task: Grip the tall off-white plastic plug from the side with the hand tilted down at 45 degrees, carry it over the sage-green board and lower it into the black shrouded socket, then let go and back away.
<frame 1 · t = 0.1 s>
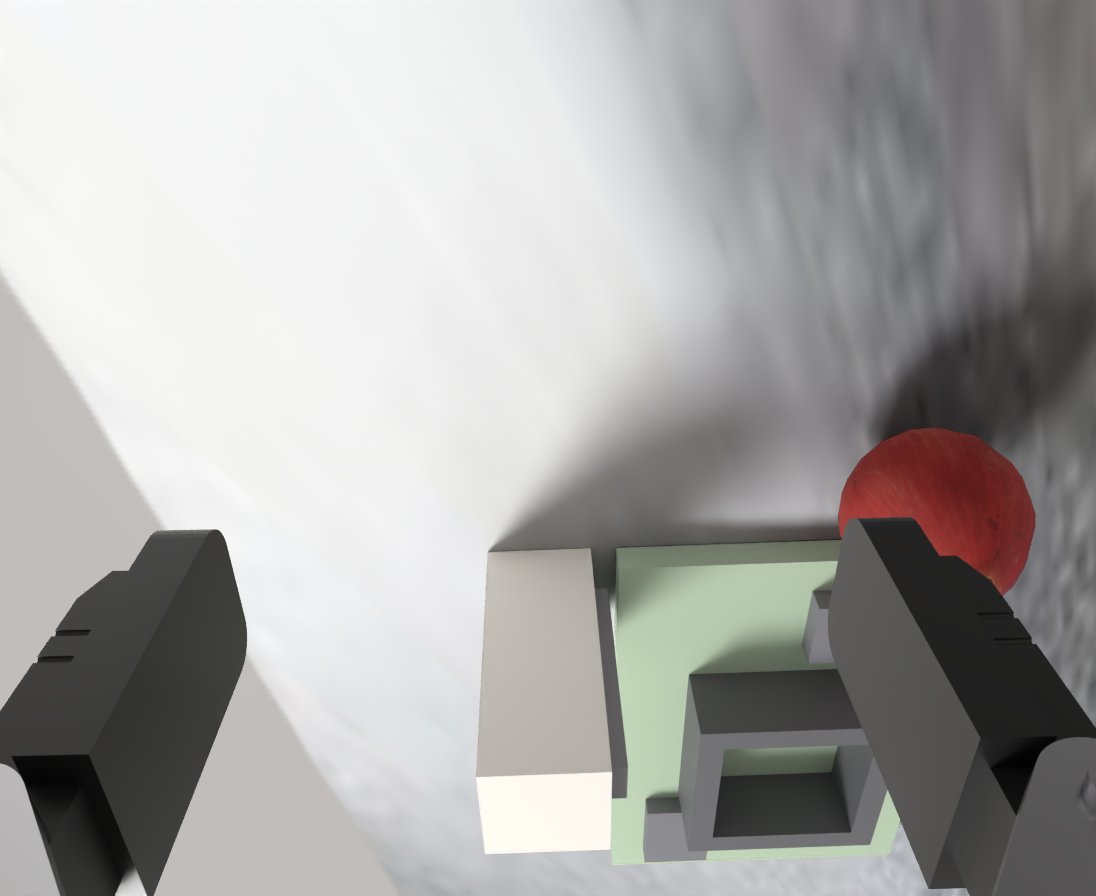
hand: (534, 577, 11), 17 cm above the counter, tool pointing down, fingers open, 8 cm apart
board: (767, 710, 40), on the counter
plug: (540, 588, 35), on the counter
onion: (891, 450, 32), on the counter
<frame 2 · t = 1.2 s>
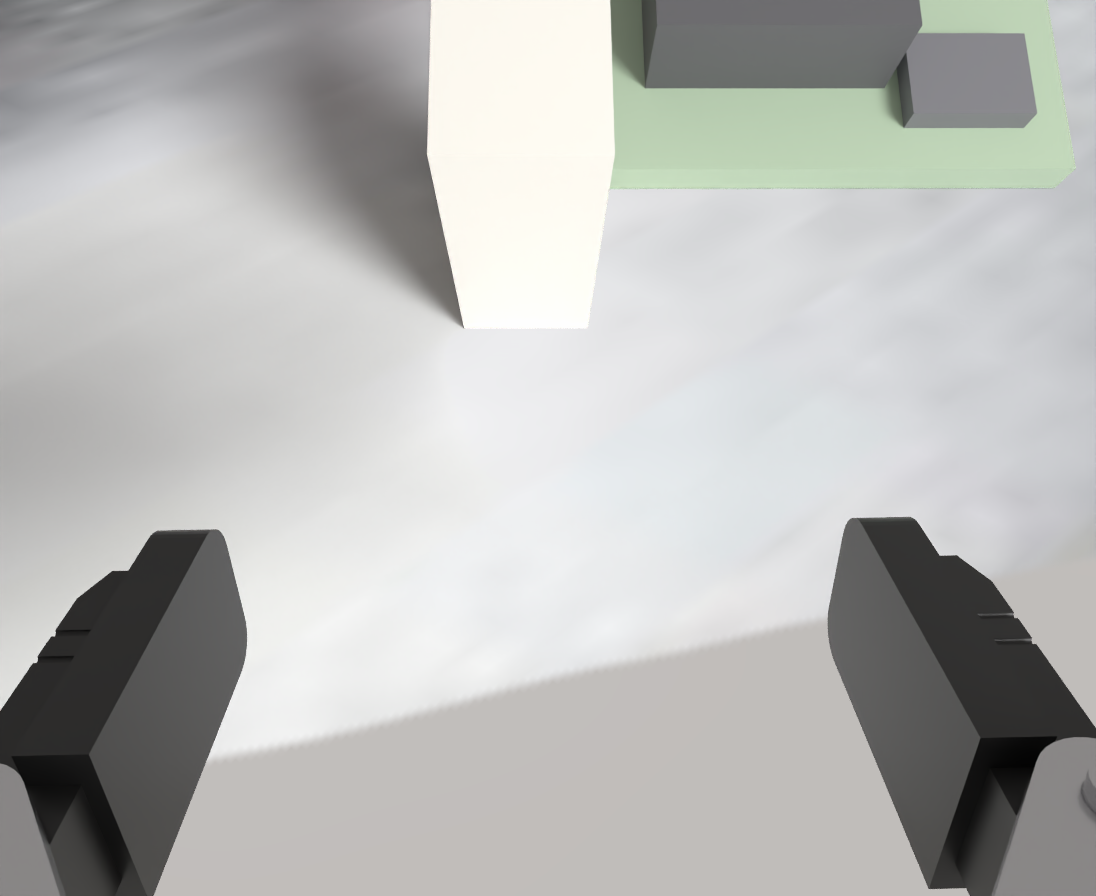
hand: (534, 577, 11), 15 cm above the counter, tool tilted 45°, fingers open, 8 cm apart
board: (748, 12, 31), on the counter
plug: (525, 271, 29), on the counter
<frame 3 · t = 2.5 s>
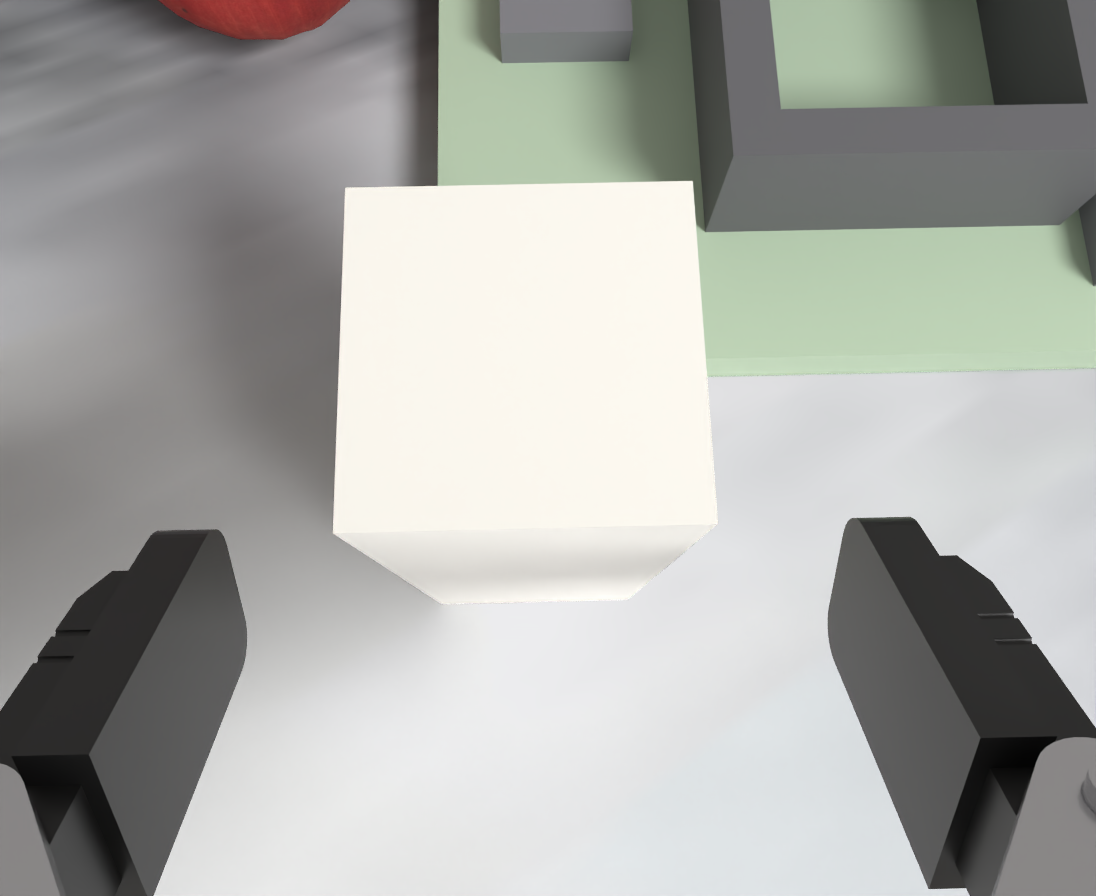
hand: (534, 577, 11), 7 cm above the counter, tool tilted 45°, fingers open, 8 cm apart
board: (845, 106, 22), on the counter
plug: (533, 510, 19), on the counter
onion: (290, 20, 23), on the counter
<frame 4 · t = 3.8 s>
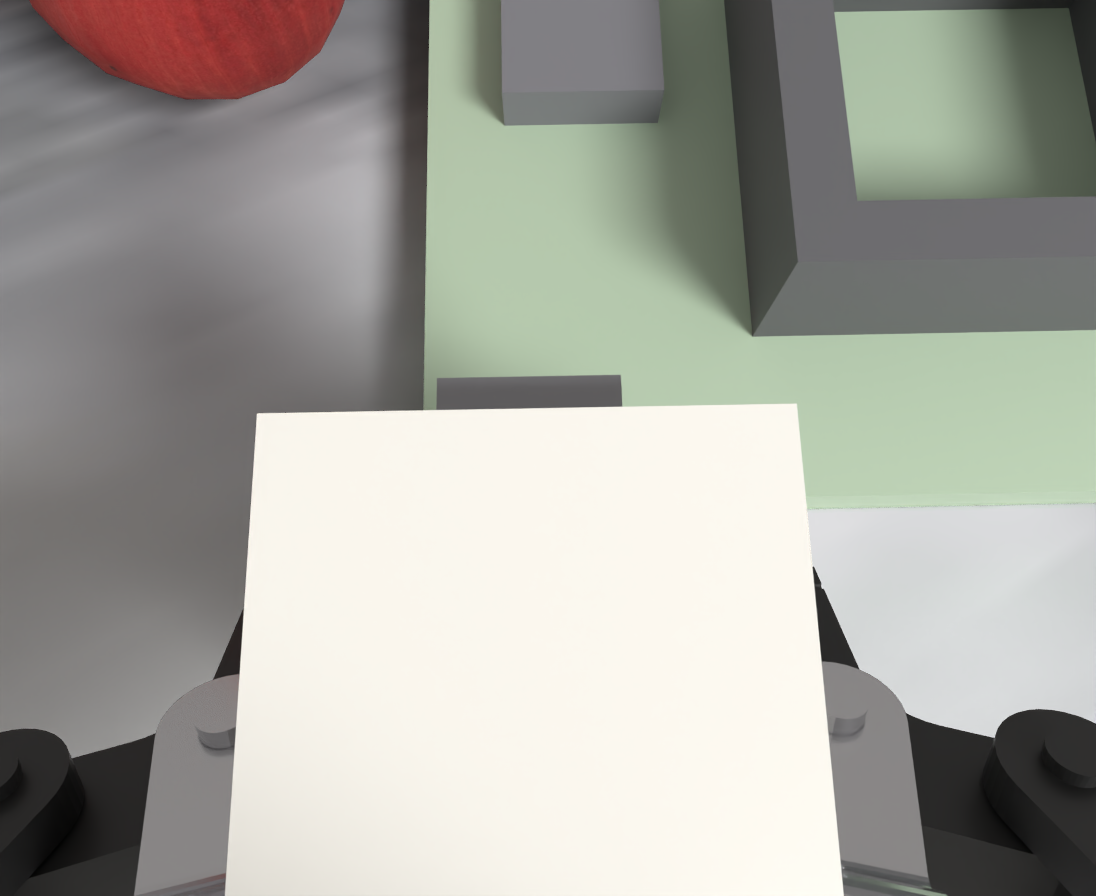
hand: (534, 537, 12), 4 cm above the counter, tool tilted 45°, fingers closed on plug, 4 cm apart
board: (916, 174, 18), on the counter
plug: (540, 680, 16), on the counter, touching gripper
onion: (254, 69, 19), on the counter
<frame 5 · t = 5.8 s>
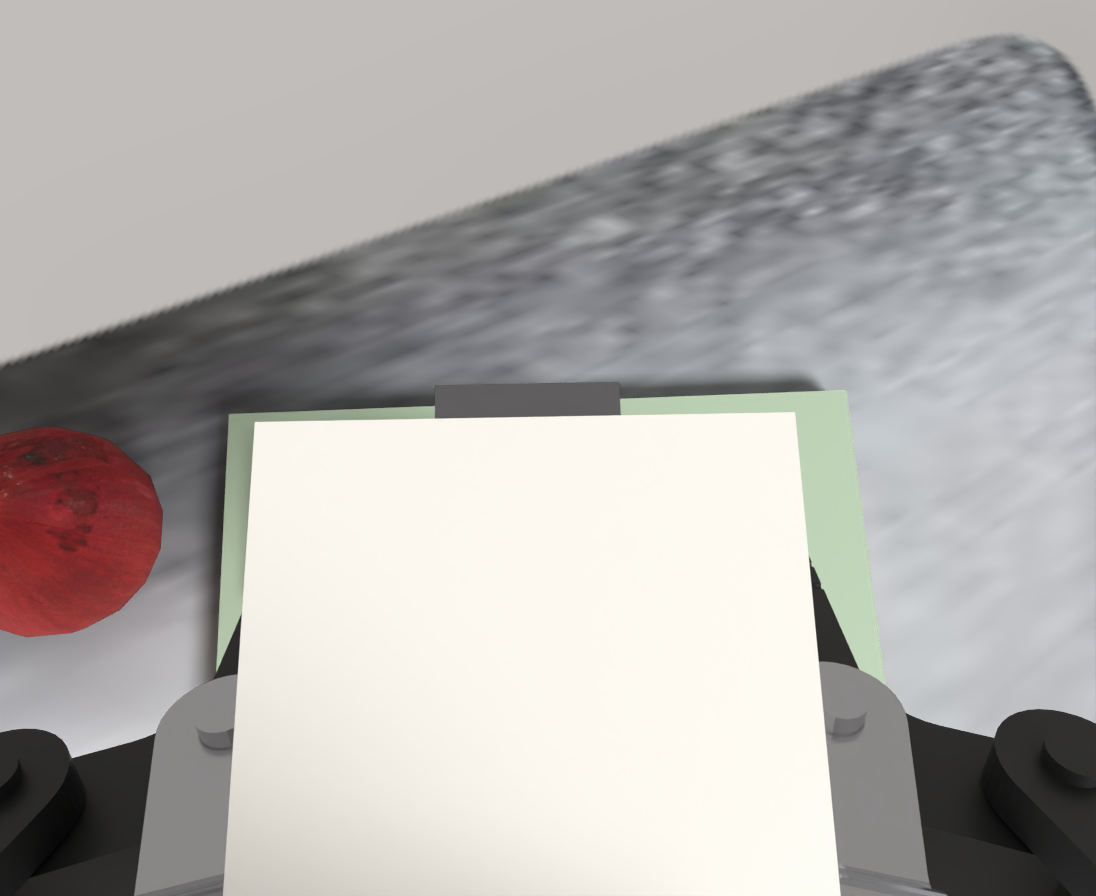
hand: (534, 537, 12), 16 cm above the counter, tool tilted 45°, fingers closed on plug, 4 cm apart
board: (548, 623, 28), on the counter
plug: (540, 683, 16), point 12 cm above the counter, touching gripper
onion: (114, 549, 28), on the counter
when the fingers open (7 cm above the counter, at t = 8.0 s): plug drops 2 cm, resting on board.
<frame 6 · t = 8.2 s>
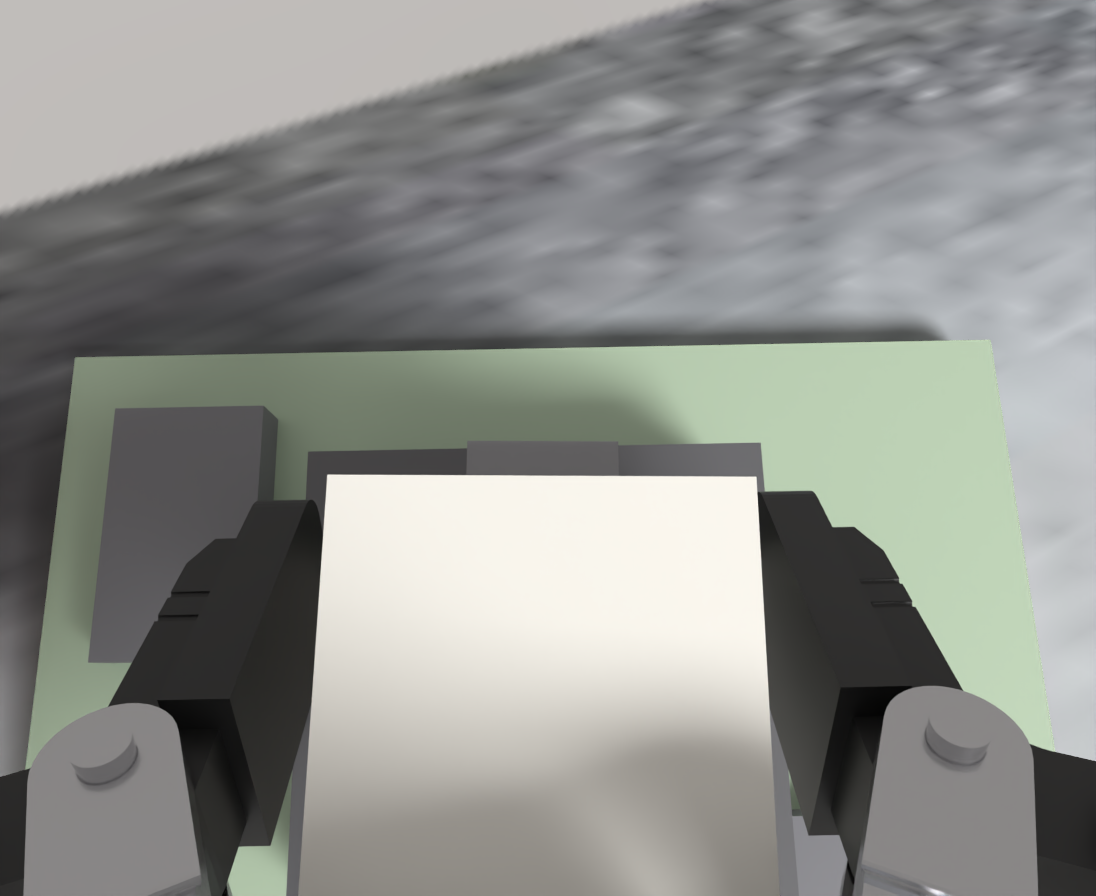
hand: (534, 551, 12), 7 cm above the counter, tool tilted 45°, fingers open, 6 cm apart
board: (540, 679, 19), on the counter
plug: (544, 684, 17), point 1 cm above the counter, touching board
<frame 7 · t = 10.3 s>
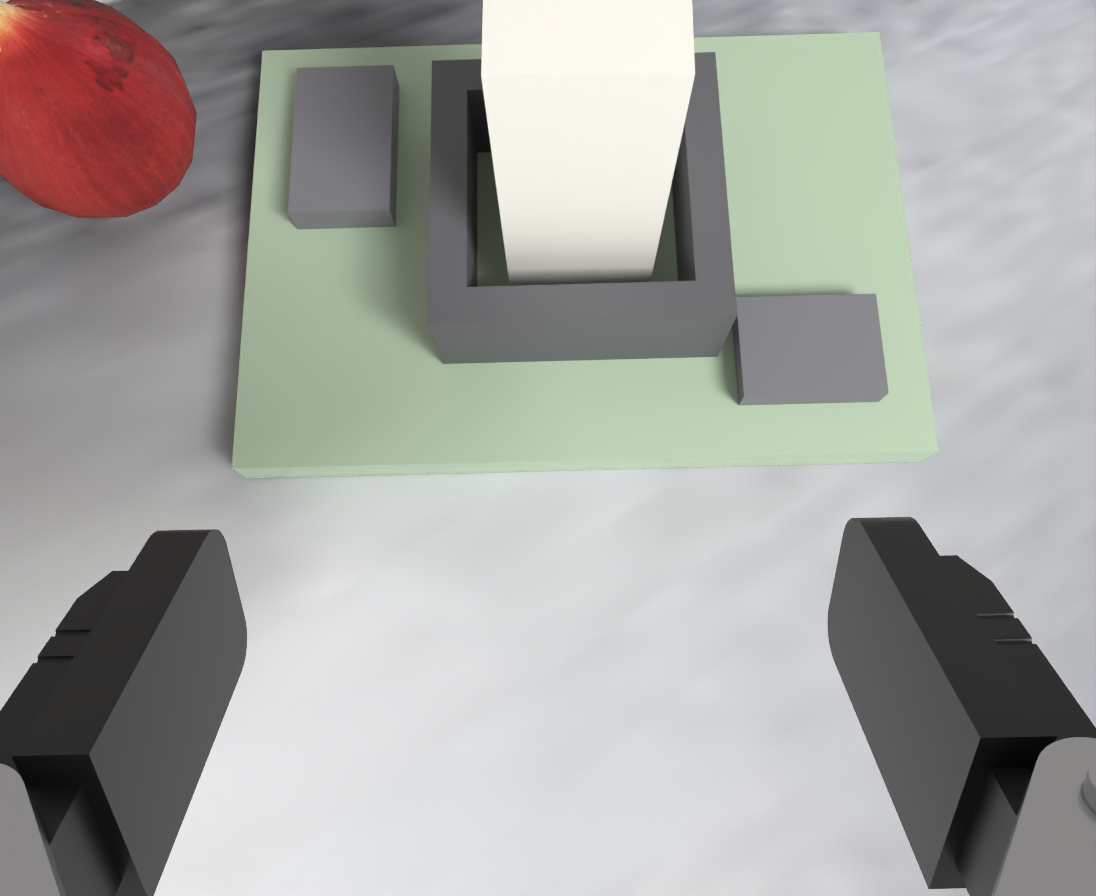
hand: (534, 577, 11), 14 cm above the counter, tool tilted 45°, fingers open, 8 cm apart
board: (575, 255, 28), on the counter
plug: (578, 239, 27), point 1 cm above the counter, touching board
onion: (148, 187, 29), on the counter
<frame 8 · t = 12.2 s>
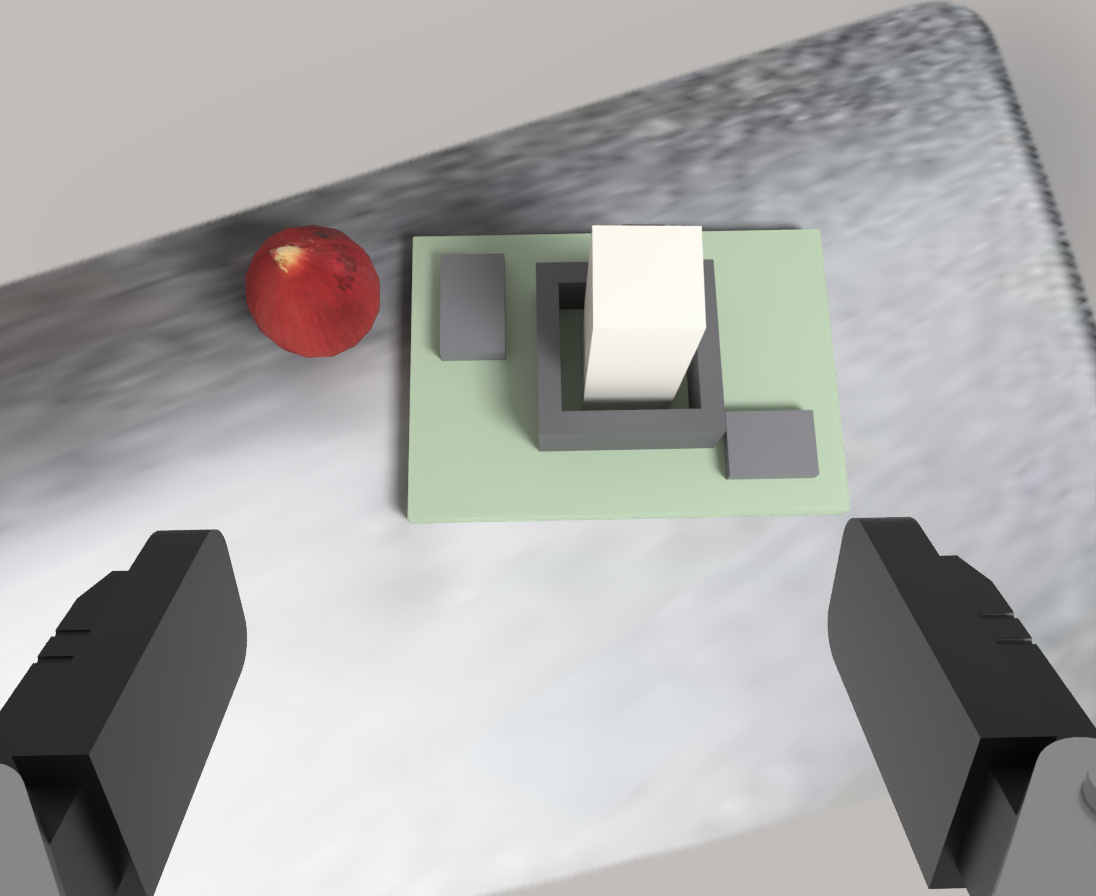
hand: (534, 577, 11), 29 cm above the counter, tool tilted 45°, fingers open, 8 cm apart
board: (620, 376, 42), on the counter
plug: (624, 369, 41), point 1 cm above the counter, touching board
onion: (334, 325, 43), on the counter
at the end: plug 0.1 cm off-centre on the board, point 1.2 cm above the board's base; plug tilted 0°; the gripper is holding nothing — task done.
